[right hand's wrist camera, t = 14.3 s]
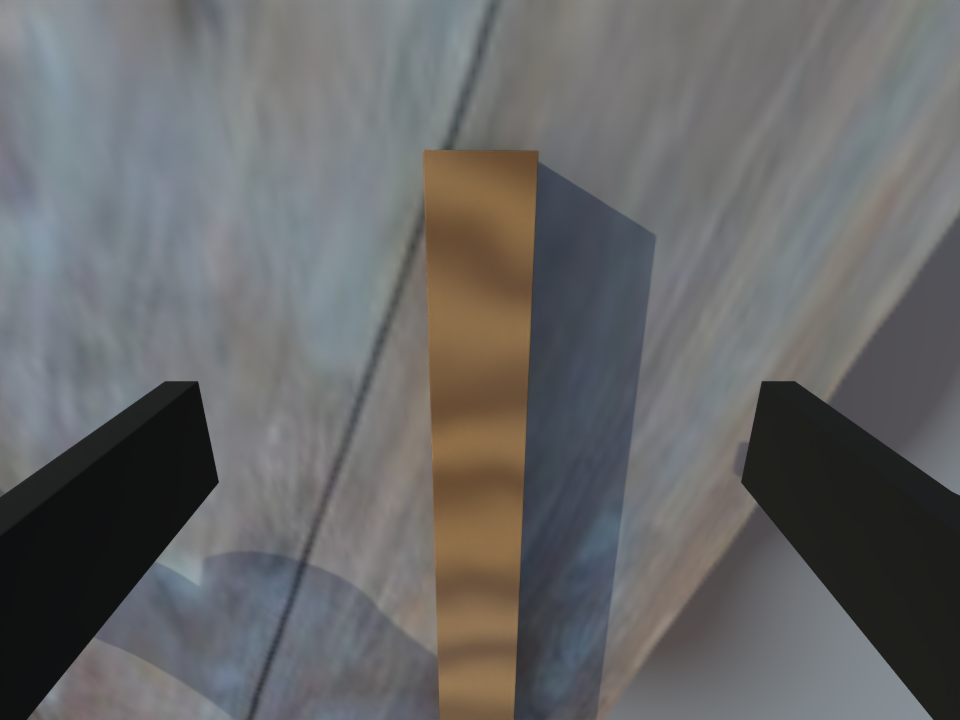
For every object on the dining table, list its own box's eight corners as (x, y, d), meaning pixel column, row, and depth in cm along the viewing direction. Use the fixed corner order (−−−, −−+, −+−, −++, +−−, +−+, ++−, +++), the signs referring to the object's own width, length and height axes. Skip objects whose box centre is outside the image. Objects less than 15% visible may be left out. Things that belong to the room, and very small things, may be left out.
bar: (435, 151, 33) (423, 149, 26) (525, 152, 33) (538, 150, 26) (448, 735, 52) (442, 831, 45) (505, 735, 52) (509, 831, 45)
